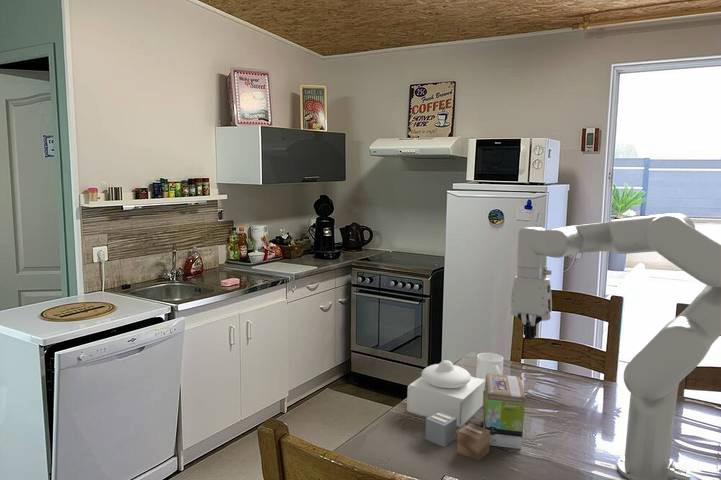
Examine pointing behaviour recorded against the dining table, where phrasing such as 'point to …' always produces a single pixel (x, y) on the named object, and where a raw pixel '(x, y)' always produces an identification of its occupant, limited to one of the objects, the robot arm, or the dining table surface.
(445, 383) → the butter dish
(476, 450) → the walnut marked block
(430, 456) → the dining table surface
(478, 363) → the mug
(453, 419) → the slate marked block
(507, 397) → the tea box
